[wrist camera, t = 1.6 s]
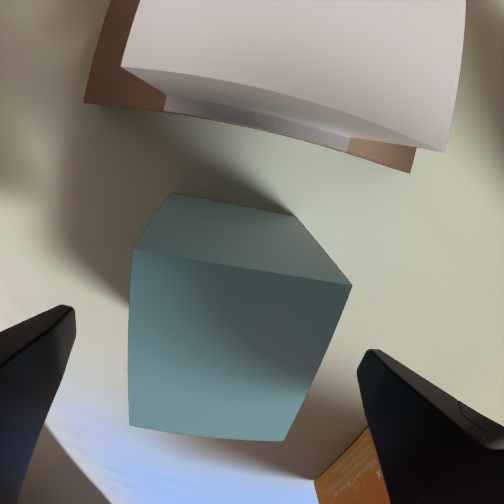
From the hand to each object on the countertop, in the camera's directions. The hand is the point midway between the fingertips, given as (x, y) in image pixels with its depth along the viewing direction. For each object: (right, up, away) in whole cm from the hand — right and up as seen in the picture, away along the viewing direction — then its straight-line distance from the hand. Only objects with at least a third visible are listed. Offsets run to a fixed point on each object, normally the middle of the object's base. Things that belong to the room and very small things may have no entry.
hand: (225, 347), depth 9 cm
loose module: (-1, +2, +5) cm, 5 cm away
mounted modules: (+3, +17, -3) cm, 17 cm away
